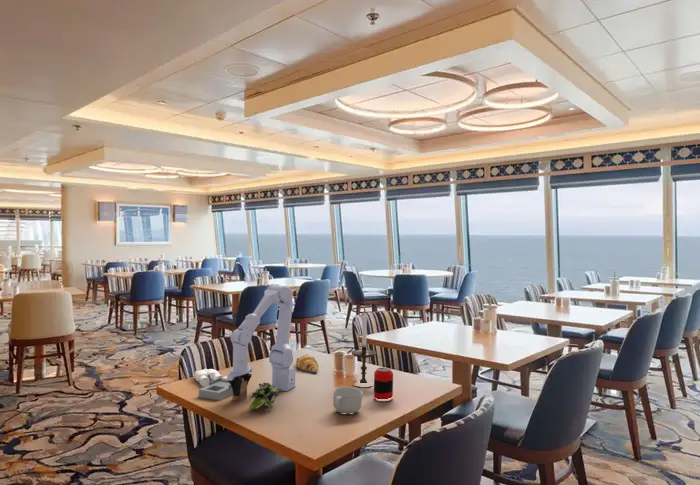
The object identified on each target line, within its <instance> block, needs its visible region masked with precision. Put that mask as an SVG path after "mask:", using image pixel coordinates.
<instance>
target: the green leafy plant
mask: <svg viewBox="0 0 700 485" xmlns="http://www.w3.org/2000/svg"><path fill="white" fill-rule="evenodd" d="M281 391H282V390H281V389H279V387H277V388H276V387H275V386H274V385H273V386H272V383H269V382H262V383H258V387H257V388H256V389H255V391H253V392H251V395H249V396H248V397H249V400H248V401H251V400H252V399H254V400H253V401H252V403H251V404H250V405H249V408H248V409H249V411H250V412H251V411H253V409H254V410H258V409H259V408H261V407H262V406H264V405H266V406H267V408H270V410H269V412H271V410H272V408H273V405H274V403H275V401H276V398H277V397H278V396H279V394H280V393H281ZM273 397H274V399H273Z"/></svg>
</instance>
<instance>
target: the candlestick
mask: <svg viewBox="0 0 700 485" xmlns="http://www.w3.org/2000/svg"><path fill="white" fill-rule="evenodd" d="M367 320H368V316H367V315H366V308H365V306H363V315H362V326H361V327H362V328H361V330H362V333H361V334H362V336H361V345H359V347H360V348H361V349H354V350H352V351H351V355H352V356H353V357H357V358H361V359H362V362H361V363H362V364H361V366H360V370H361V372H360V375H361V377H362V378H361V379H359V380H360V383H367V381H366V380H367V379H366V375H367V369H368V367H367V366H366V359H367V358H373V357H376V356H377V351H376V350H372V349H367V348H369V345H367V337H368V336H367V332H368V330H367V328H368V326H367V325H368V324H367V322H368V321H367ZM353 383H354V381H353Z"/></svg>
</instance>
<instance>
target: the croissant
mask: <svg viewBox="0 0 700 485" xmlns="http://www.w3.org/2000/svg"><path fill="white" fill-rule="evenodd" d="M295 363H296V364H295V365H296V367H297V369H299V370H300V371H306V372H311V373H317V372H318V371H319V363H318V362H317V360H316V358H315V356H312V355H310V354H303V355H301V356H300V357H297V358H296V361H295Z"/></svg>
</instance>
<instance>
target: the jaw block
mask: <svg viewBox="0 0 700 485" xmlns="http://www.w3.org/2000/svg"><path fill="white" fill-rule="evenodd" d="M239 379H243V380H242V383H241V386H240V394H239V396H234V394H232V401H238V402H242V401H244V400H247V398H248V385H247V381H246V380H244V378H239Z"/></svg>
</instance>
